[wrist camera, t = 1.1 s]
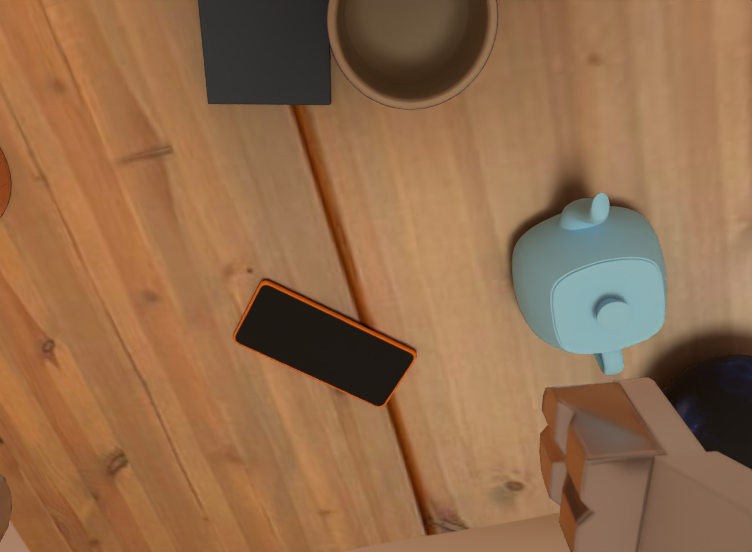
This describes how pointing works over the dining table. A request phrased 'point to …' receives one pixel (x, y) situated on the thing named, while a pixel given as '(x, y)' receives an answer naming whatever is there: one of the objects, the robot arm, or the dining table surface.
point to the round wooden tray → (4, 183)
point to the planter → (411, 47)
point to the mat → (266, 51)
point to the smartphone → (323, 344)
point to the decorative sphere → (717, 404)
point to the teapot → (591, 280)
